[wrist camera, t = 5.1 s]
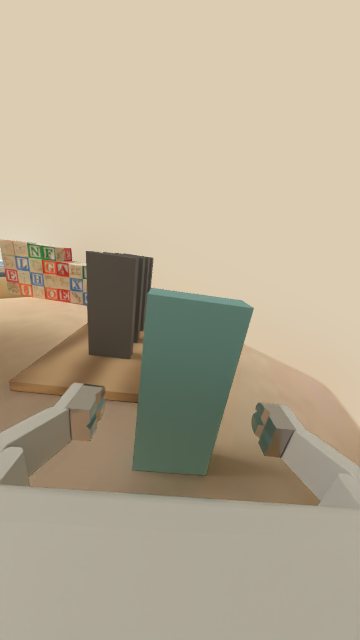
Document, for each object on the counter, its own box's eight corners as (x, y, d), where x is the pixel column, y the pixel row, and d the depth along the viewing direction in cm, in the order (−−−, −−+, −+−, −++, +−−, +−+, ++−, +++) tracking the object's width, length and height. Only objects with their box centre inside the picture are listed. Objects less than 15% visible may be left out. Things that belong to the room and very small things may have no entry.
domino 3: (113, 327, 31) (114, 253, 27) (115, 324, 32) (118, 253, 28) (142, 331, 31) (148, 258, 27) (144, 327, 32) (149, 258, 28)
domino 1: (88, 354, 22) (85, 251, 18) (94, 348, 24) (93, 251, 20) (129, 359, 22) (135, 258, 18) (132, 353, 24) (138, 258, 20)
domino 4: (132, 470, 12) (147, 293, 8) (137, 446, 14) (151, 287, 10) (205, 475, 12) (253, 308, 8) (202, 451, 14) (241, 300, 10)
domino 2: (102, 339, 26) (103, 252, 22) (106, 334, 28) (107, 252, 24) (137, 343, 27) (143, 258, 23) (139, 338, 28) (145, 258, 24)
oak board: (10, 390, 17) (9, 381, 16) (102, 316, 37) (102, 311, 37) (161, 404, 18) (162, 396, 17) (169, 324, 38) (170, 320, 38)
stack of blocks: (107, 301, 49) (108, 253, 45) (96, 307, 43) (95, 252, 39) (29, 289, 49) (23, 240, 45) (7, 293, 43) (-3, 237, 39)
